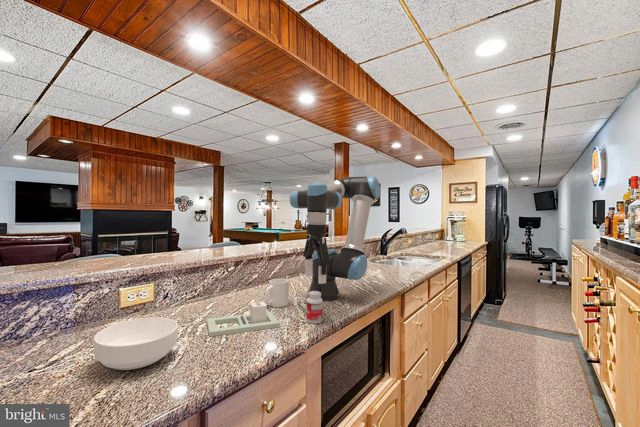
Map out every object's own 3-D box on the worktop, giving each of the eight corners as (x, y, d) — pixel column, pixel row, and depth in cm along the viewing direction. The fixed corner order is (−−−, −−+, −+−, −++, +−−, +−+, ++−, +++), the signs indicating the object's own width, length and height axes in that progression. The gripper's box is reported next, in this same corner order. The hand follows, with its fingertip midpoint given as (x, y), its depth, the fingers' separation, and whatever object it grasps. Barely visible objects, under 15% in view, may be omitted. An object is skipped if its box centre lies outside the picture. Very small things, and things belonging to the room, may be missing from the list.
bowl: (82, 387, 69) (82, 351, 69) (104, 350, 87) (105, 321, 87) (175, 371, 77) (176, 339, 77) (178, 340, 95) (179, 314, 95)
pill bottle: (306, 318, 117) (307, 290, 117) (322, 318, 117) (323, 290, 117) (305, 324, 111) (306, 294, 111) (322, 324, 111) (323, 295, 111)
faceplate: (270, 315, 120) (270, 309, 119) (279, 327, 108) (279, 321, 108) (207, 322, 110) (207, 317, 110) (209, 336, 98) (209, 330, 98)
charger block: (263, 319, 114) (263, 301, 114) (266, 324, 110) (266, 304, 110) (249, 321, 112) (250, 302, 112) (252, 326, 108) (253, 306, 108)
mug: (258, 306, 130) (259, 282, 130) (279, 300, 139) (280, 277, 139) (271, 311, 124) (271, 285, 124) (292, 304, 133) (292, 281, 133)
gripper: (296, 222, 124) (295, 273, 124) (320, 225, 101) (318, 287, 101) (313, 222, 127) (311, 272, 127) (340, 225, 104) (338, 286, 104)
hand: (315, 279), depth 114 cm, fingers open, 13 cm apart
